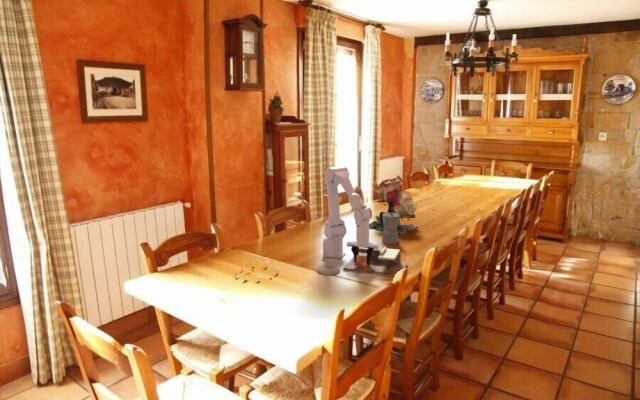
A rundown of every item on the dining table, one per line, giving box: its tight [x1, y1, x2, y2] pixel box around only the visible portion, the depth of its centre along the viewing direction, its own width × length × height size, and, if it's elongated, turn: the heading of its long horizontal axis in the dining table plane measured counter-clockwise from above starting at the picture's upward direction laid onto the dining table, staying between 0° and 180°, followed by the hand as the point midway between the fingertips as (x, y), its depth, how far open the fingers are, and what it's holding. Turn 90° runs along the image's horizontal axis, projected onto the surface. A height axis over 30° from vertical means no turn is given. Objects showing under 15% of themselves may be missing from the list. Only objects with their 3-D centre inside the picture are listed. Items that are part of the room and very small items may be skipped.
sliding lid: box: [378, 246, 401, 260], centre depth 204 cm, size 7×13×2 cm, turn 160°
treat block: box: [356, 253, 369, 268], centre depth 209 cm, size 4×4×6 cm
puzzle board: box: [342, 247, 408, 277], centre depth 207 cm, size 26×15×7 cm, turn 70°
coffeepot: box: [379, 209, 401, 245], centre depth 247 cm, size 15×9×18 cm, turn 33°
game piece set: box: [235, 260, 279, 280], centre depth 202 cm, size 19×20×4 cm
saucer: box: [316, 264, 341, 276], centre depth 204 cm, size 10×10×1 cm
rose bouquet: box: [369, 177, 418, 235], centre depth 274 cm, size 26×29×30 cm
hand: (362, 262), depth 209 cm, fingers closed on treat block, 4 cm apart
